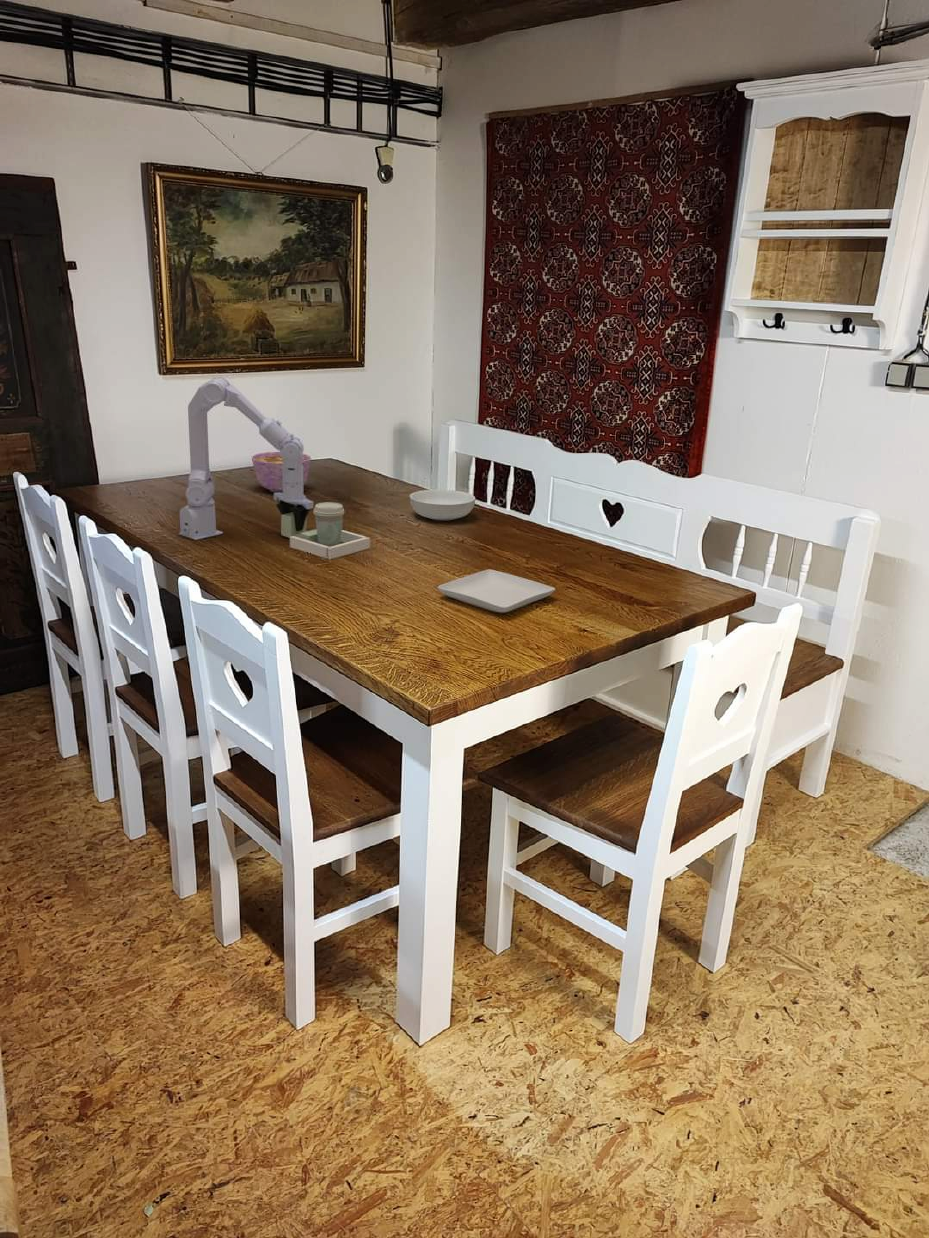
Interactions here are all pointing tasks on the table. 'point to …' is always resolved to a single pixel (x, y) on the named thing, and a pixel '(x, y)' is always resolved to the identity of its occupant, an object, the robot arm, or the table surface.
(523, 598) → the salad plate
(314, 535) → the square dumbbell
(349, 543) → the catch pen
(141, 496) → the table surface
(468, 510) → the serving bowl
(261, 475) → the bowl of food
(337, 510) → the coffee cup
